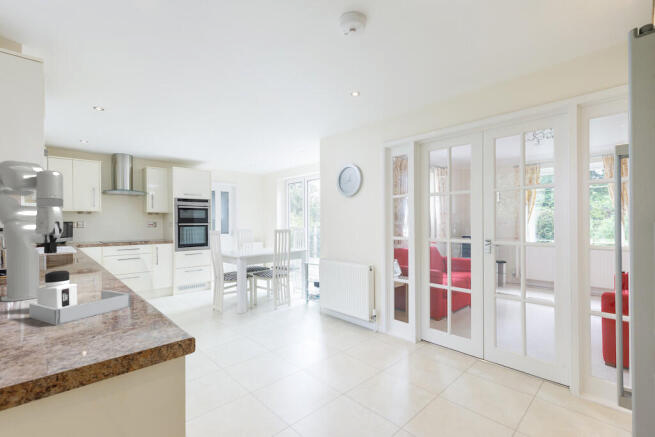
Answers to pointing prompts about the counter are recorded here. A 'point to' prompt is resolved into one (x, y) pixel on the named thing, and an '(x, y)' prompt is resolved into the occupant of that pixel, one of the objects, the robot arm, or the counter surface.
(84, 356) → the counter surface
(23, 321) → the counter surface
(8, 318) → the counter surface
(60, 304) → the container
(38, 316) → the tray
